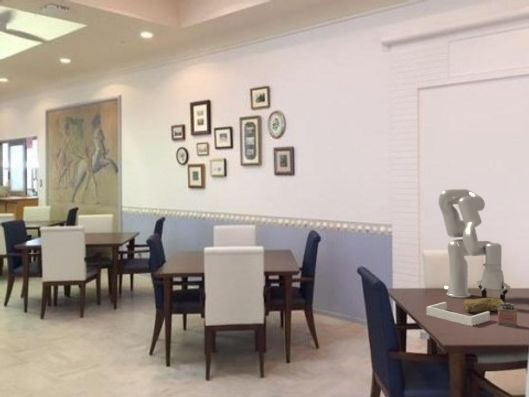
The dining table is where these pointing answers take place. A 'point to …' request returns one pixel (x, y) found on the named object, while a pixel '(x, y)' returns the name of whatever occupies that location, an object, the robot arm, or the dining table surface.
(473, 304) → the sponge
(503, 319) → the lighter
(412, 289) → the dining table surface
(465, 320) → the box
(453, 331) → the dining table surface
